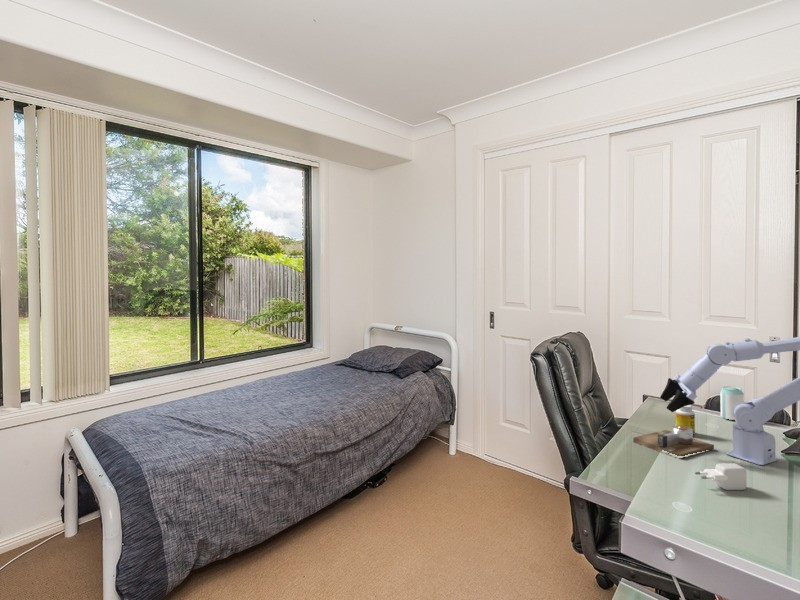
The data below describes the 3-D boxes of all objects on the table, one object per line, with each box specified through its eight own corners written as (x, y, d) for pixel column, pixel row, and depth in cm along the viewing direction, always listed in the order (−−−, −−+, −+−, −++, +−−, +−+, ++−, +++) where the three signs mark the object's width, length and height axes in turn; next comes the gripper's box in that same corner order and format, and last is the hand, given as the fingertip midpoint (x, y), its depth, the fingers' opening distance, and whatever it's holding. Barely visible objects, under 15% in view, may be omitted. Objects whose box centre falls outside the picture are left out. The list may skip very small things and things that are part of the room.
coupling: (679, 437, 141) (679, 422, 141) (696, 442, 136) (696, 427, 136) (652, 444, 136) (651, 429, 136) (668, 450, 131) (668, 434, 131)
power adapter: (704, 492, 108) (704, 470, 108) (692, 483, 113) (692, 462, 113) (749, 491, 108) (749, 469, 107) (735, 482, 112) (735, 461, 112)
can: (732, 415, 165) (732, 385, 165) (748, 421, 158) (748, 389, 158) (716, 416, 165) (715, 386, 165) (731, 422, 158) (731, 390, 158)
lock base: (713, 449, 134) (713, 444, 134) (680, 459, 128) (680, 454, 128) (665, 433, 149) (665, 429, 149) (633, 441, 143) (633, 437, 143)
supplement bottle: (693, 437, 145) (692, 408, 144) (674, 434, 149) (673, 405, 148) (696, 433, 148) (696, 404, 148) (678, 429, 152) (677, 402, 152)
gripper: (679, 359, 141) (649, 387, 146) (693, 376, 128) (661, 407, 132) (697, 371, 140) (667, 400, 145) (714, 390, 127) (681, 421, 132)
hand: (666, 404), depth 139 cm, fingers open, 7 cm apart
